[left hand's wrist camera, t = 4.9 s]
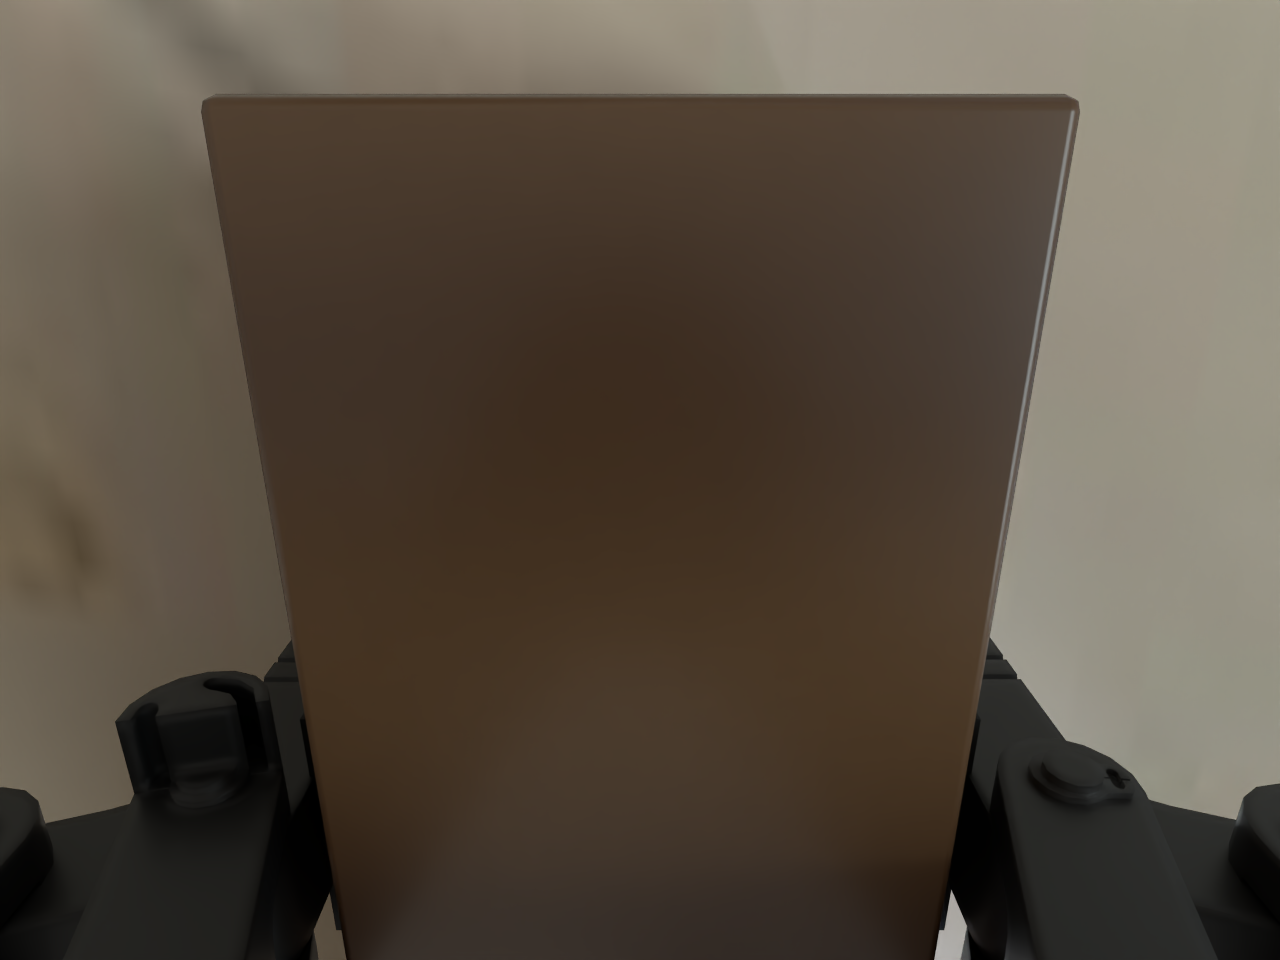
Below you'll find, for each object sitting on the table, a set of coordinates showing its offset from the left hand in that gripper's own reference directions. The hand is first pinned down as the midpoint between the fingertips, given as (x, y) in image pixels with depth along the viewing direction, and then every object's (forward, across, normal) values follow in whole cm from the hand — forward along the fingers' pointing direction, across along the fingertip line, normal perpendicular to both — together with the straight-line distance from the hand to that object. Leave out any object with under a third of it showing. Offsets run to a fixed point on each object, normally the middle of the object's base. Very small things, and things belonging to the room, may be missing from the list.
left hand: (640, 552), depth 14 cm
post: (+1, 0, -28) cm, 29 cm away
